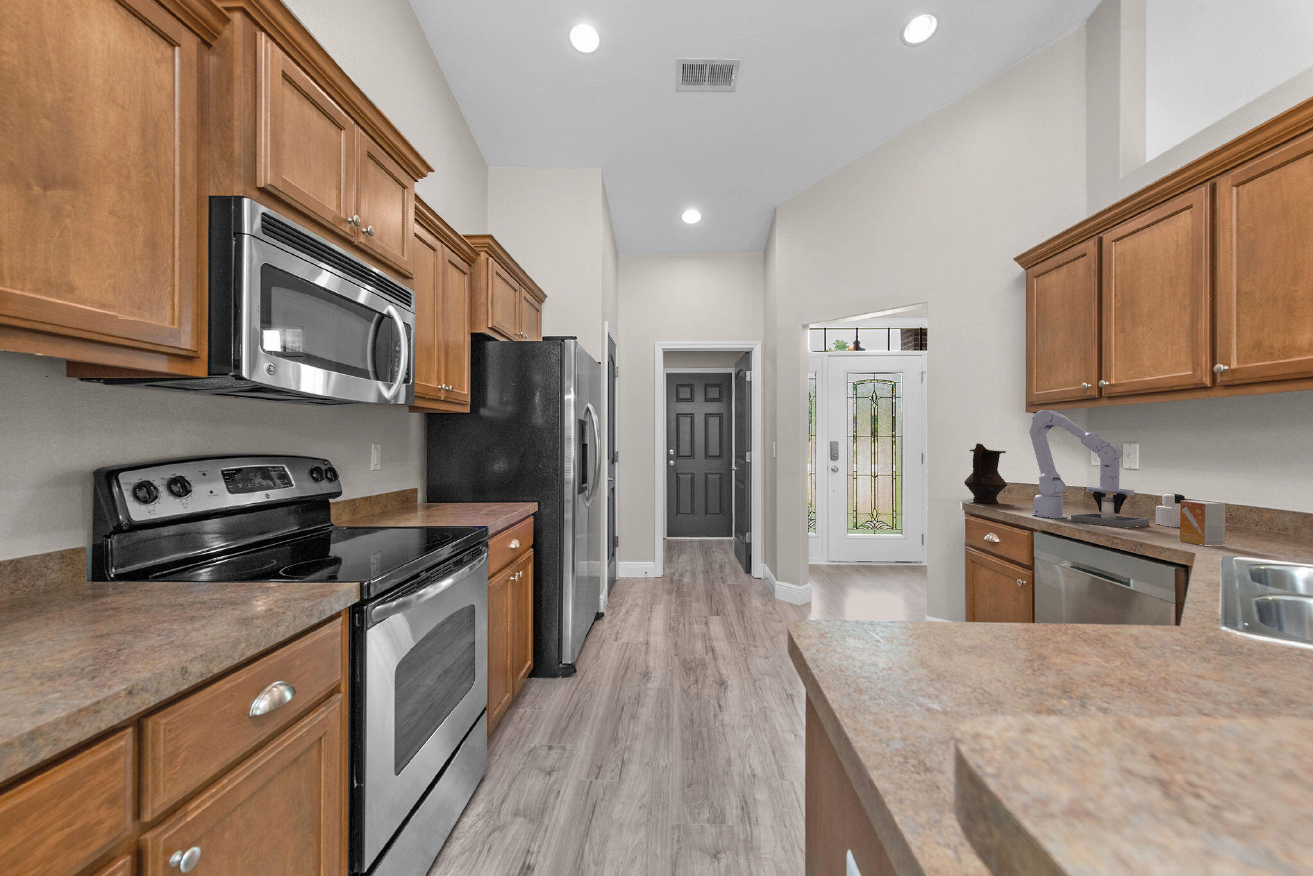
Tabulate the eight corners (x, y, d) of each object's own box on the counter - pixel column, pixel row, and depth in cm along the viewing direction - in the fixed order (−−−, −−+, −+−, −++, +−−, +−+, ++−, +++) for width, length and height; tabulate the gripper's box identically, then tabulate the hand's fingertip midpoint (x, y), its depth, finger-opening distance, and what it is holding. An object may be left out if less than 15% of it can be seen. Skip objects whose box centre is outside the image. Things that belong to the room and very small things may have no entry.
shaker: (1098, 517, 209) (1098, 496, 209) (1105, 517, 211) (1105, 496, 211) (1112, 519, 205) (1112, 498, 205) (1119, 518, 207) (1119, 497, 207)
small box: (1179, 541, 172) (1179, 500, 172) (1199, 541, 172) (1199, 500, 172) (1204, 546, 164) (1205, 503, 164) (1226, 546, 164) (1226, 503, 164)
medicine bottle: (1175, 524, 207) (1175, 493, 207) (1192, 527, 200) (1192, 495, 200) (1155, 524, 208) (1155, 492, 208) (1170, 527, 200) (1171, 494, 200)
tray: (1070, 521, 213) (1070, 515, 213) (1093, 519, 220) (1093, 513, 220) (1126, 528, 197) (1126, 521, 197) (1149, 525, 204) (1149, 519, 204)
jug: (972, 499, 288) (973, 443, 288) (1012, 503, 274) (1012, 443, 274) (955, 502, 274) (956, 443, 275) (996, 506, 260) (997, 443, 260)
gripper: (1082, 475, 213) (1081, 510, 213) (1127, 478, 200) (1126, 515, 200) (1091, 475, 216) (1091, 509, 216) (1137, 478, 203) (1136, 514, 203)
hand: (1109, 512), depth 208 cm, fingers closed on shaker, 4 cm apart
